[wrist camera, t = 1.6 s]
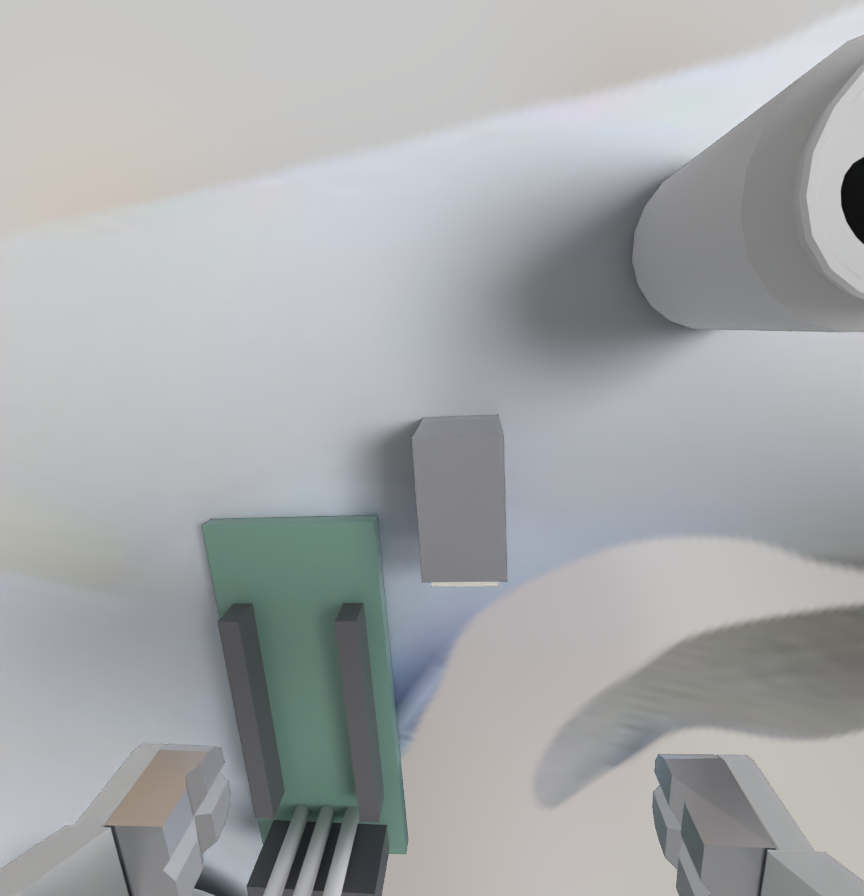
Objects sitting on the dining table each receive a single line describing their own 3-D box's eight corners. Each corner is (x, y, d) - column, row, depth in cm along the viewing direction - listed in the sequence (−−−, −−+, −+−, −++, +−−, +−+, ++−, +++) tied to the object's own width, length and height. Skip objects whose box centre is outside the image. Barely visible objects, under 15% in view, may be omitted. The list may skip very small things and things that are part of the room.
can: (592, 250, 23) (711, 176, 11) (723, 118, 21) (1021, -128, 10) (695, 361, 24) (901, 397, 12) (829, 244, 22) (1220, 155, 10)
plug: (498, 414, 25) (503, 435, 21) (501, 542, 27) (507, 589, 22) (423, 417, 26) (411, 438, 21) (431, 543, 28) (422, 589, 23)
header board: (377, 515, 27) (339, 588, 20) (408, 839, 33) (388, 992, 26) (211, 519, 28) (113, 590, 21) (269, 832, 34) (210, 978, 27)
